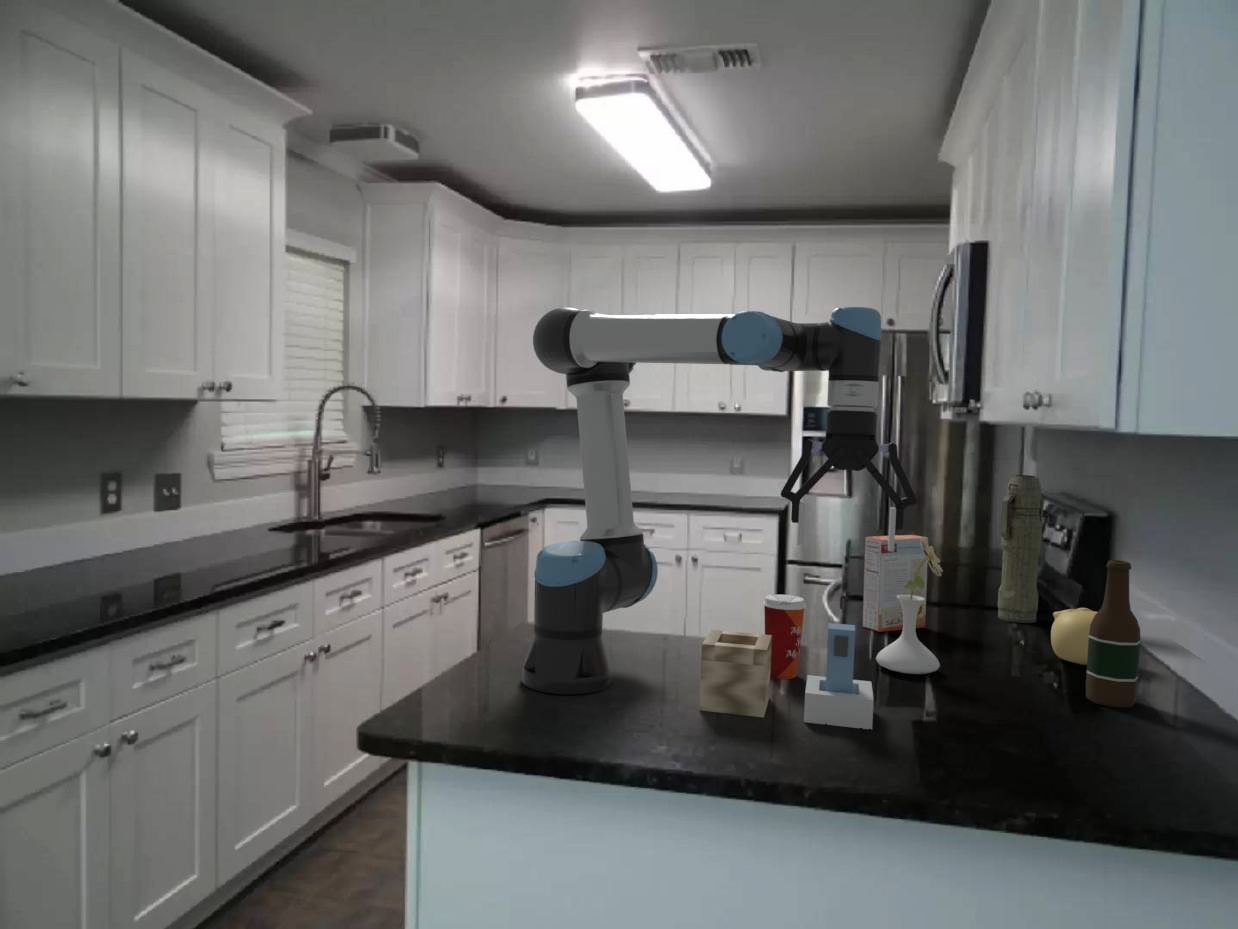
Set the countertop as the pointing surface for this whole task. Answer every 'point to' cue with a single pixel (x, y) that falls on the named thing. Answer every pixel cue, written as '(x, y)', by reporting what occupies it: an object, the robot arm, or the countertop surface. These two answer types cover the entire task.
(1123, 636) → the beer bottle
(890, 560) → the cracker box
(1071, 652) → the sculpture
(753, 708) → the block
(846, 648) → the plug
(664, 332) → the robot arm
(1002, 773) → the countertop surface
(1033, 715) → the countertop surface
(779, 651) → the paper cup
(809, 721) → the block
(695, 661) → the countertop surface
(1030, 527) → the thermos
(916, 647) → the flower in vase
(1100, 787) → the countertop surface
